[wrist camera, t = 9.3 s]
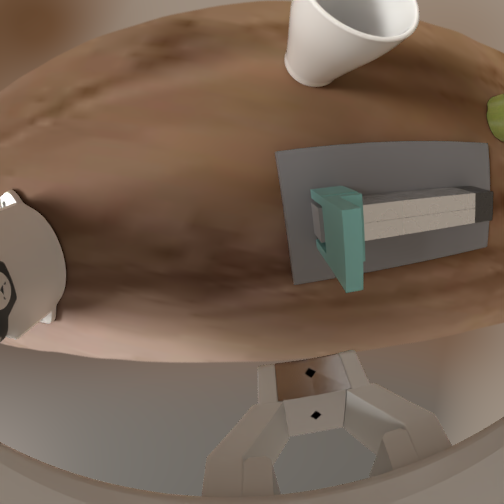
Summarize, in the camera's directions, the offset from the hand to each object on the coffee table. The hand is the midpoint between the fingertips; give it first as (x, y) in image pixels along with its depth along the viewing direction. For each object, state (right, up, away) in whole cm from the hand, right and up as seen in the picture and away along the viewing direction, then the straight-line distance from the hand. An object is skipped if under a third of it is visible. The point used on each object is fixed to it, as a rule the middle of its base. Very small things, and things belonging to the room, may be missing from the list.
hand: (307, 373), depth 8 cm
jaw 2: (+15, +8, +18) cm, 25 cm away
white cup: (+4, +22, +15) cm, 27 cm away
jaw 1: (+15, +9, +17) cm, 25 cm away
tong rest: (+15, +9, +19) cm, 26 cm away
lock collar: (+5, +7, +17) cm, 20 cm away
